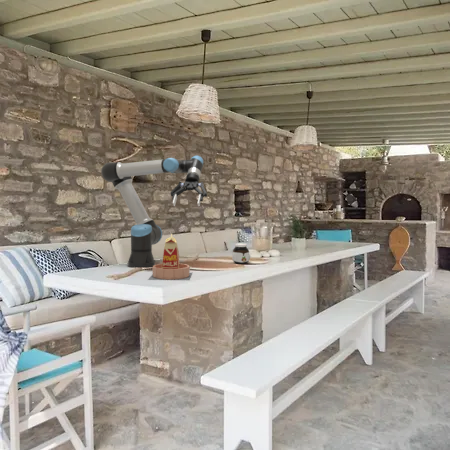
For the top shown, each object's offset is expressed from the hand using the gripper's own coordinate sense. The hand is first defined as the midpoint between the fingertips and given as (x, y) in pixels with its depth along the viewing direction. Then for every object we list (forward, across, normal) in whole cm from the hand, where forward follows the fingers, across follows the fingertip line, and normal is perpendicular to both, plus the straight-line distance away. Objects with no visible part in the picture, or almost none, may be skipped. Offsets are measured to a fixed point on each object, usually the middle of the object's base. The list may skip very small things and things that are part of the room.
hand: (186, 204), depth 235 cm
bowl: (+38, +2, -12) cm, 40 cm away
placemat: (+38, +2, -12) cm, 40 cm away
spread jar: (0, -26, -50) cm, 57 cm away
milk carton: (+37, +3, -12) cm, 39 cm away
